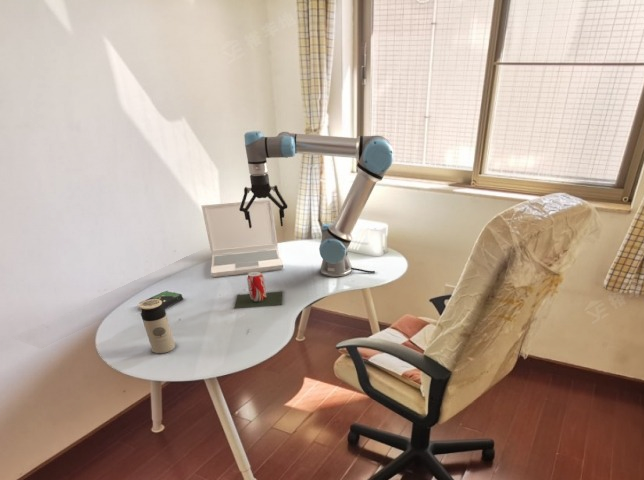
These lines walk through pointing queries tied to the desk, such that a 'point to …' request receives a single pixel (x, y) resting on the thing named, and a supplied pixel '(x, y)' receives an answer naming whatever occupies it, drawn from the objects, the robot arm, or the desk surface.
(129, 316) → the desk surface
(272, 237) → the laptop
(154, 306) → the travel mug
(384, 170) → the robot arm
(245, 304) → the mat
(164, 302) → the disk drive
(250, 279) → the soda can
